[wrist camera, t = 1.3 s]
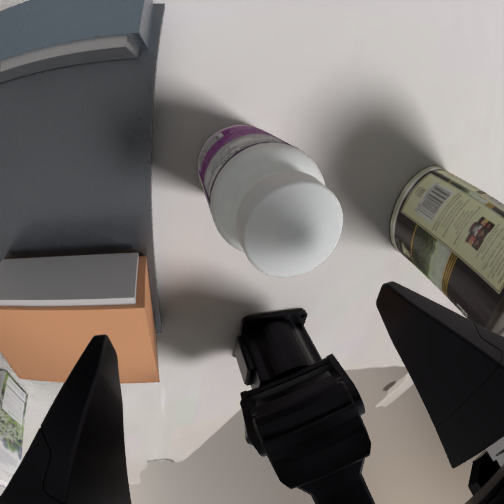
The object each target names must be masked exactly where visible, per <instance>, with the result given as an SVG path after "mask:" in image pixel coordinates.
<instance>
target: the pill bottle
mask: <svg viewBox="0 0 504 504" xmlns="http://www.w3.org/2000/svg"><path fill="white" fill-rule="evenodd" d="M197 171H198V176H199V179H200V182H201V185H202V188H203V191H204V194H205V196H206V199H207V202H208V205H209V208H210V211H211V214H212V217H213V220H214V222H215V225H216V227H217V229H218V231H219V233H220V234H221V235H222V237H223V238H224V239H225V240H226V241H227V242H228V243H229V244H230V245H231V246H233V247H234V248H236V249H238V250H239V251H242V252H244V253H246V255H247V257H248V259H249V261H250V262H251V263H252V264H253V265H254V266H255V267H256V268H257V269H258V270H260V271H261V272H263V273H265V274H267V275H270V276H274V277H292V276H296V275H300V274H303V273H305V272H308V271H310V270H311V269H313V268H315V267H316V266H318V265H319V264H320V263H321V262H322V261H324V260H325V259H326V258H327V257H328V256H329V254H330V253H331V252H332V250H333V249H334V247H335V246H336V244H337V242H338V240H339V237H340V234H341V231H342V225H343V213H342V209H341V206H340V203H339V201H338V199H337V198H336V196H335V195H334V194H333V193H332V192H331V191H330V190H329V189H328V188H327V187H326V186H325V182H324V179H323V176H322V174H321V172H320V170H319V168H318V167H317V165H316V164H315V162H314V161H313V160H312V159H311V158H310V157H309V156H307V155H306V154H305V153H304V152H303V151H301V150H300V149H299V148H297V147H294V146H292V145H290V144H288V143H286V142H284V141H282V140H281V139H279V138H277V137H275V136H273V135H271V134H269V133H267V132H265V131H263V130H261V129H258V128H256V127H253V126H249V125H233V126H228V127H225V128H223V129H221V130H219V131H217V132H216V133H215V134H213V135H212V136H211V137H210V138H209V139H208V140H207V141H206V142H205V144H204V145H203V147H202V149H201V152H200V154H199V158H198V165H197Z"/></svg>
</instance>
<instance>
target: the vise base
mask: <svg viewBox="0 0 504 504" xmlns="http://www.w3.org/2000/svg"><path fill="white" fill-rule="evenodd" d="M164 10H165V4H153V0H29V1H26V2H24V3H21V4H18V5H15V6H13V7H10V8H8V9H5V10H3V11H0V262H1V261H2V259H19V258H38V257H57V256H77V255H97V254H118V253H138V256H146V258H147V269H148V278H149V287H150V295H151V302H152V310H153V317H154V323H155V330H156V333H162V325H161V317H160V308H159V300H158V290H157V280H156V269H155V256H154V241H153V222H152V186H151V158H152V123H153V105H154V91H155V79H156V68H157V59H158V51H159V43H160V35H161V28H162V22H163V16H164Z"/></svg>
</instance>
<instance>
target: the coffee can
mask: <svg viewBox="0 0 504 504" xmlns="http://www.w3.org/2000/svg"><path fill="white" fill-rule="evenodd" d="M390 236H391V241H392V244H393V246H394V248H395V249H396V250H397V251H398V252H400V253H401V254H403V255H404V256H405V257H406V258H407V259H408V260H409V261H410V262H412V263H413V264H414V265H415V266H416V267H417V268H418V269H419V270H420V271H421V272H422V273H423V274H424V275H425V276H426V277H427V278H428V279H430V280H431V281H432V282H433V283H434V284H435V285H436V286H437V287H438V288H439V289H440V290H441V291H442V292H443V293H444V294H445V295H446V297H447V298H448V299H449V300H450V301H451V302H452V303H453V304H454V305H455V306H456V307H457V308H458V309H459V310H460V311H461V312H462V313H463V315H464V316H465V317H466V318H467V319H469V320H471V321H472V322H475V323H476V324H478V325H480V326H482V327H484V328H486V329H488V330H490V331H492V332H494V333H496V334H498V335H502V333H503V332H504V204H502V203H501V202H499V201H498V200H496V199H494V198H493V197H491V196H490V195H488V194H486V193H485V192H483V191H481V190H480V189H478V188H476V187H475V186H473V185H471V184H469V183H468V182H466V181H464V180H462V179H461V178H459V177H457V176H455V175H453V174H451V173H449V172H448V171H446V170H445V169H444V168H442V167H438V166H432V167H428V168H426V169H423V170H422V171H420V172H419V173H417V174H416V175H415V176H414V177H413V178H412V179H411V180H410V181H409V182H408V184H407V185H406V186H405V188H404V189H403V191H402V193H401V194H400V196H399V198H398V200H397V202H396V205H395V207H394V211H393V214H392V218H391V223H390Z"/></svg>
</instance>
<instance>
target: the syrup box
mask: <svg viewBox="0 0 504 504" xmlns="http://www.w3.org/2000/svg"><path fill="white" fill-rule="evenodd" d="M27 398H28V394H27V393H26V392H25V391H24V390H23V389H22V388H21V387H20V386H19V385H18V384H17V383H16V381H15V380H14V379H13V378H12V377H11V376H10V375H9V374H8V373H7V371H4V370H0V486H3V487H7V485H8V483H9V482H10V480H11V478H12V476H13V475H14V473H15V471H16V470H17V468H18V466H19V465H20V463H21V461H22V443H23V430H24V421H25V412H26V404H27Z"/></svg>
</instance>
